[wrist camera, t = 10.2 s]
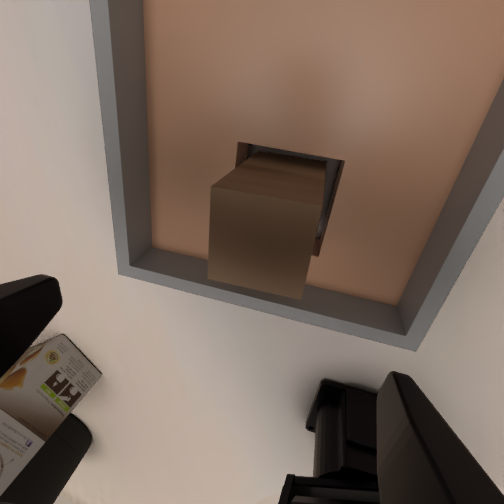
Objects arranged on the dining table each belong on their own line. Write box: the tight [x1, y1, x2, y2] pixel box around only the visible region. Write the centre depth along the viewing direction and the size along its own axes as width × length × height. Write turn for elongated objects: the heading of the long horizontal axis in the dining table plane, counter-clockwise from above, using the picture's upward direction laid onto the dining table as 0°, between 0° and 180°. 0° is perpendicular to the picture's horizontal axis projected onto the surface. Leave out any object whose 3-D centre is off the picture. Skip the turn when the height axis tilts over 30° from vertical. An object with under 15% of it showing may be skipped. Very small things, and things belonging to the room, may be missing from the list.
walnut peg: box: [207, 151, 327, 300], centre depth 15 cm, size 4×4×8 cm
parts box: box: [89, 0, 504, 352], centre depth 15 cm, size 17×17×5 cm
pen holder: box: [0, 414, 91, 504], centre depth 35 cm, size 9×9×10 cm
